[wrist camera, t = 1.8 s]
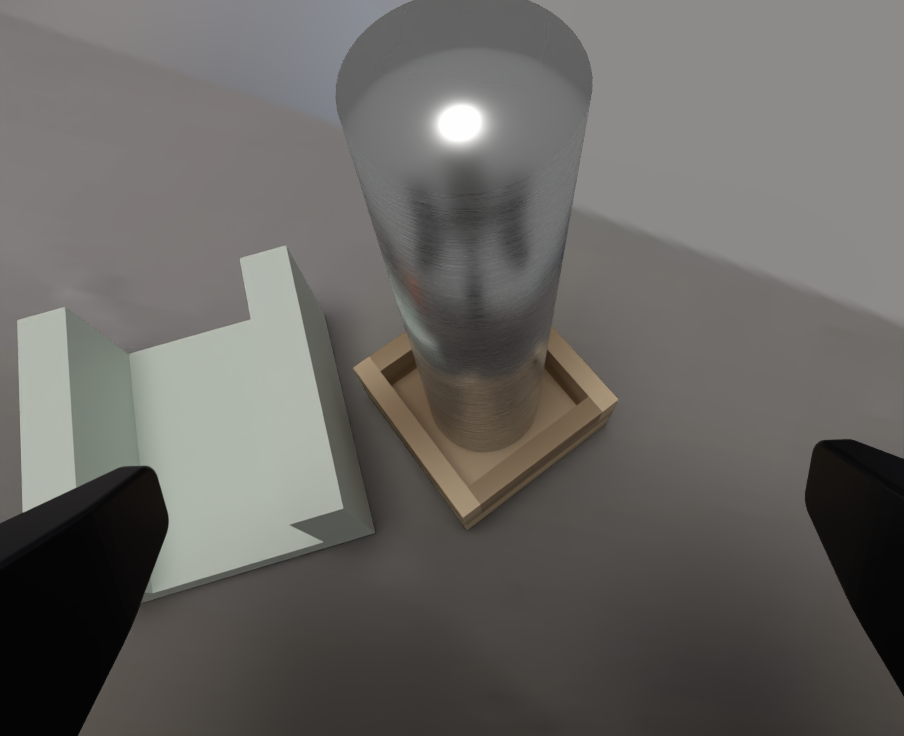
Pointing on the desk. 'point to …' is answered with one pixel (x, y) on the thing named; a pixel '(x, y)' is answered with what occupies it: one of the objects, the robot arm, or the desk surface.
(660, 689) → the desk surface
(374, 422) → the desk surface
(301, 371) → the cradle
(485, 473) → the socket block
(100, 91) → the desk surface
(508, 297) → the axle
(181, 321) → the desk surface
